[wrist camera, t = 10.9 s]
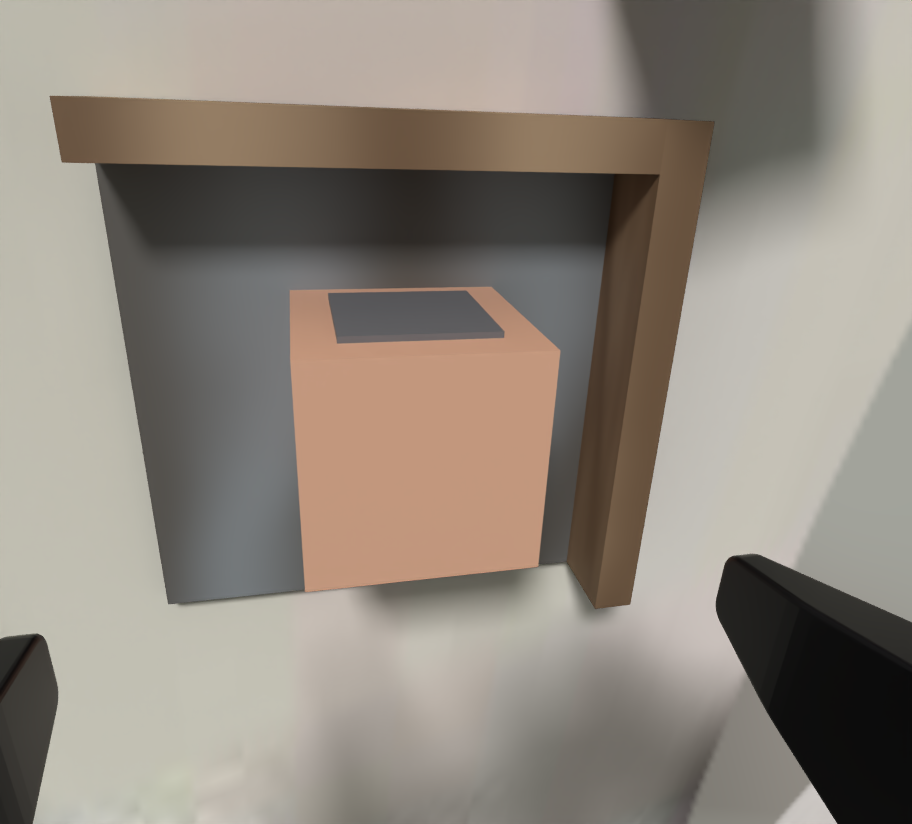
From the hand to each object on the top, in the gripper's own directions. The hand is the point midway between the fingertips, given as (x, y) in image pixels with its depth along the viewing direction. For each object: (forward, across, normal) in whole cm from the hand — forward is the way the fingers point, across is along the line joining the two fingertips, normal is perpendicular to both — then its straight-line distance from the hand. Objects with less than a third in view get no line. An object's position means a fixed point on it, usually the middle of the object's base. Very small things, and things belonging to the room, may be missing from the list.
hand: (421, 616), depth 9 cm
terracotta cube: (+11, -1, +1) cm, 11 cm away
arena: (+12, -1, +2) cm, 12 cm away
